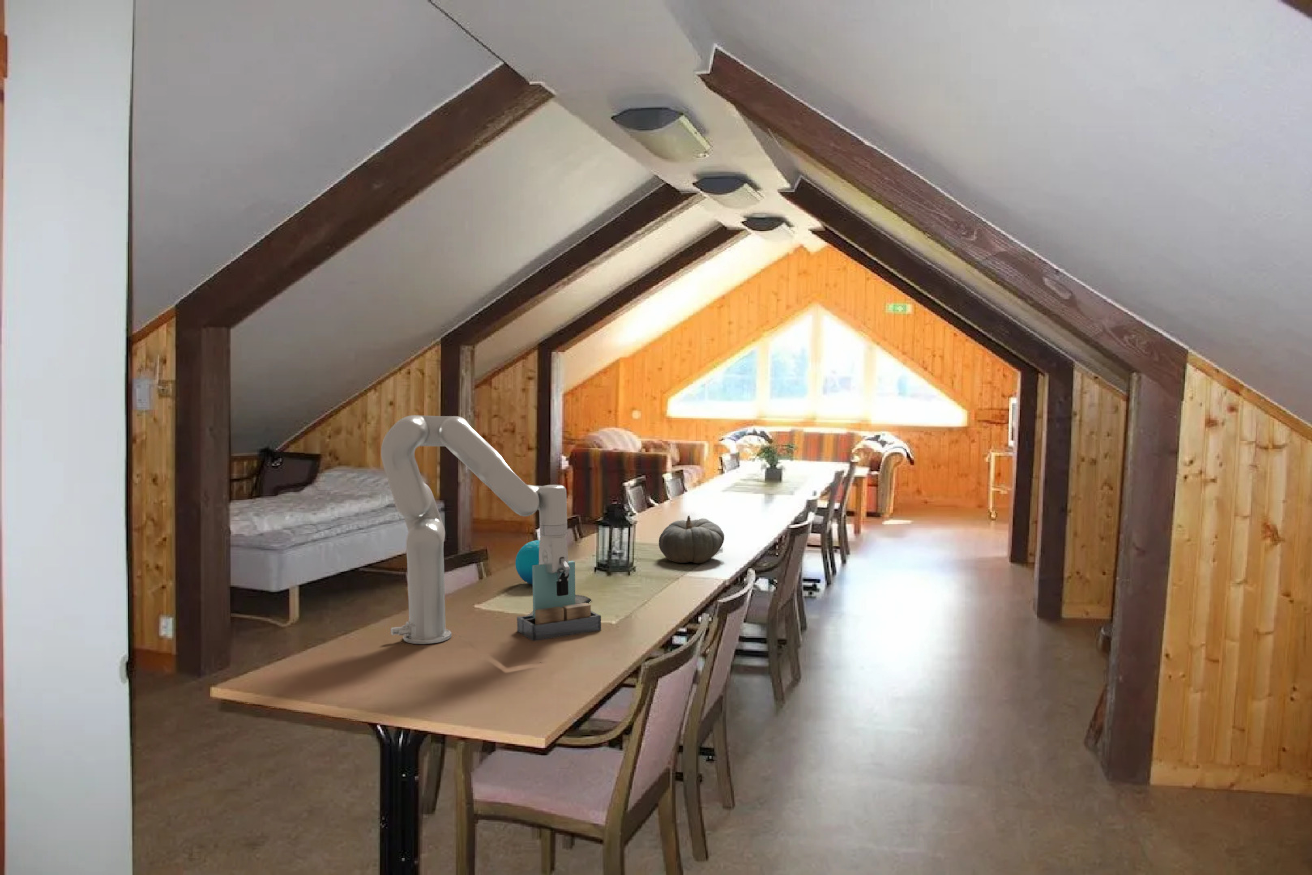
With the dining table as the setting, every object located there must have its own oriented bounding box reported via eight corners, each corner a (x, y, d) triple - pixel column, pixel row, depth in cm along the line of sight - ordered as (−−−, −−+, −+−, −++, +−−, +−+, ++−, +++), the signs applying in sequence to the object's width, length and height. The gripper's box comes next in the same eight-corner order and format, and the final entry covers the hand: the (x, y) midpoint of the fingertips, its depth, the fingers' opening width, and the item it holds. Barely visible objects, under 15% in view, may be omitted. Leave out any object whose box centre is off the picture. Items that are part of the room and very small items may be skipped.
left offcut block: (540, 638, 249) (539, 612, 249) (535, 635, 252) (535, 609, 252) (564, 634, 253) (563, 608, 252) (559, 631, 256) (559, 606, 255)
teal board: (535, 631, 256) (534, 566, 255) (533, 630, 257) (532, 565, 256) (575, 625, 262) (574, 561, 261) (573, 624, 263) (572, 560, 262)
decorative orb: (542, 591, 307) (541, 546, 306) (506, 586, 315) (505, 542, 314) (569, 582, 320) (568, 539, 319) (534, 578, 328) (533, 535, 327)
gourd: (721, 546, 371) (718, 504, 367) (730, 569, 347) (726, 525, 343) (658, 553, 370) (654, 511, 366) (663, 577, 346) (658, 533, 342)
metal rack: (533, 644, 247) (532, 625, 247) (517, 634, 257) (517, 616, 256) (601, 633, 257) (600, 615, 257) (583, 624, 267) (583, 607, 266)
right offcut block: (567, 634, 253) (567, 608, 253) (562, 631, 256) (562, 606, 256) (590, 630, 257) (590, 605, 257) (586, 627, 260) (585, 602, 259)
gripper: (528, 527, 263) (530, 587, 264) (554, 536, 248) (555, 600, 250) (553, 524, 267) (554, 584, 268) (579, 533, 252) (581, 596, 253)
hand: (555, 591), depth 259 cm, fingers open, 9 cm apart
